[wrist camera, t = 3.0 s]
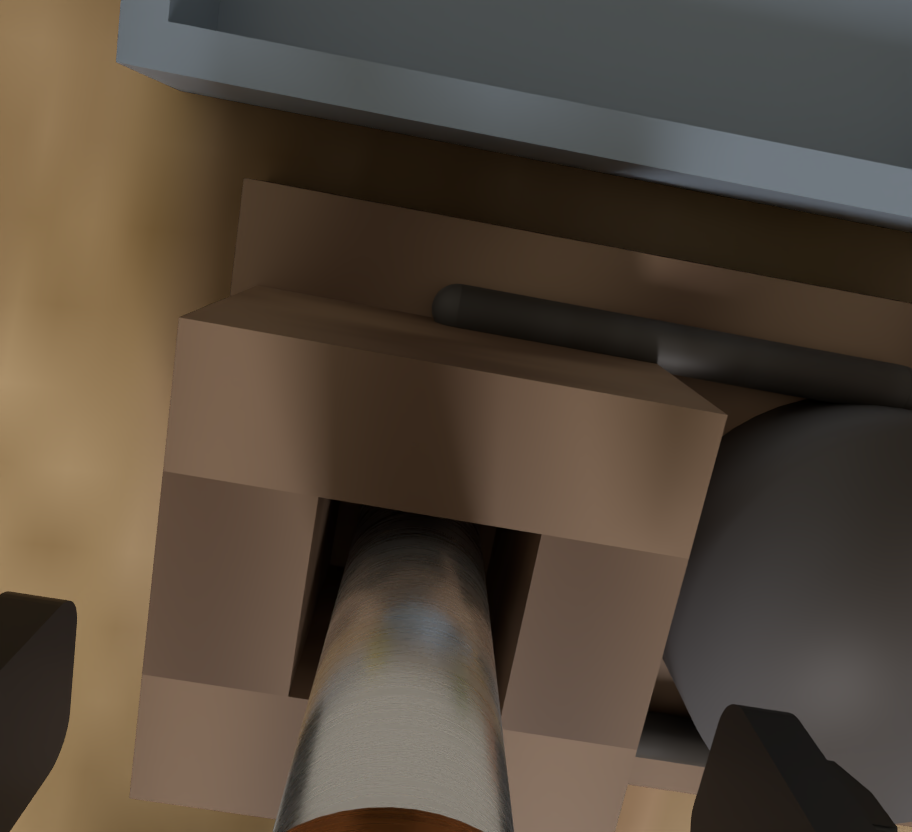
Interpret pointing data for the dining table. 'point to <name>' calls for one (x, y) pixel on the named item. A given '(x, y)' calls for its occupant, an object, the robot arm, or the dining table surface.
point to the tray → (582, 84)
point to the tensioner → (534, 500)
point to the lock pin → (404, 691)
